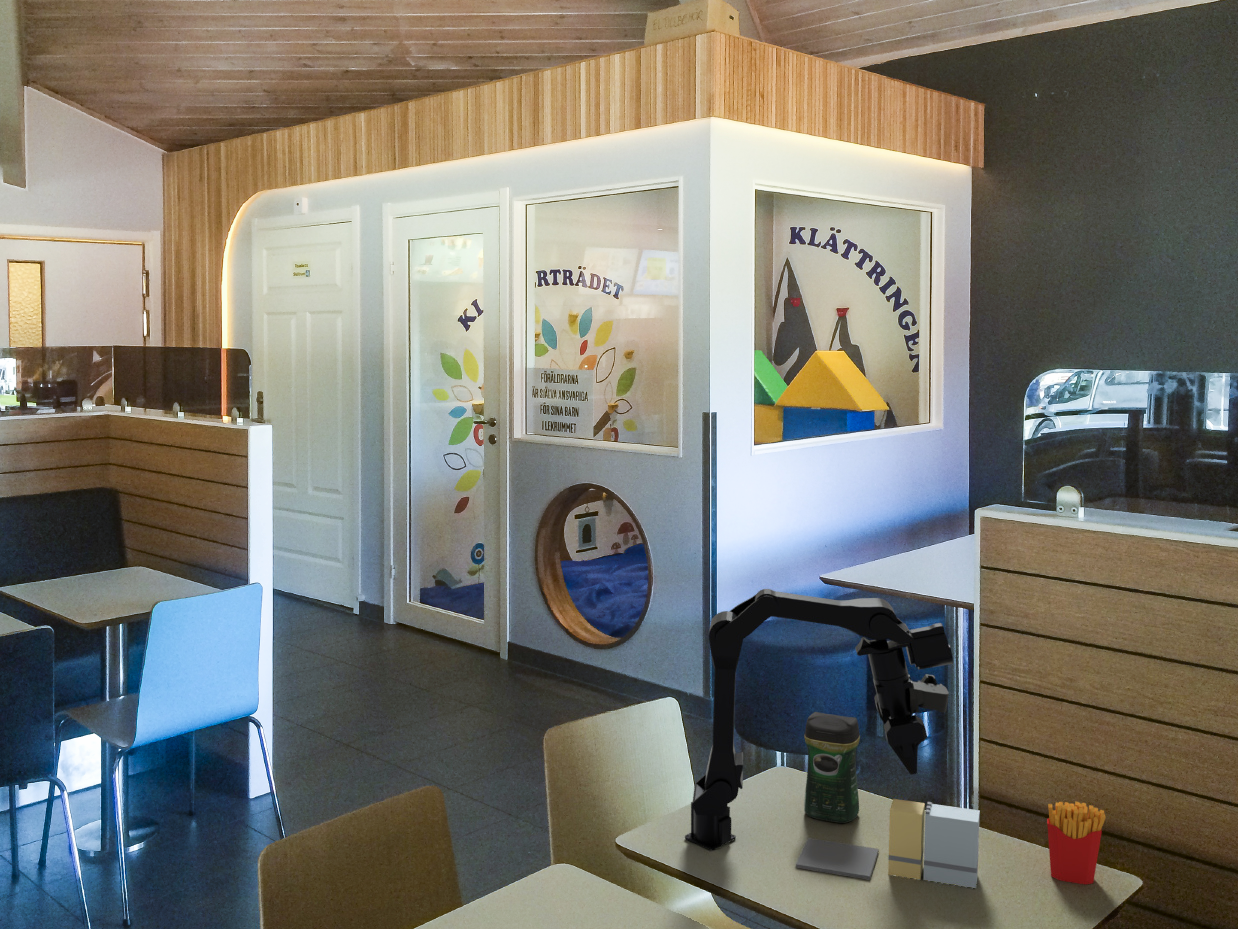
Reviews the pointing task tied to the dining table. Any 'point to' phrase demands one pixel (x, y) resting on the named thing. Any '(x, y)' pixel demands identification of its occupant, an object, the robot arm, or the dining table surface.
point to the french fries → (1074, 841)
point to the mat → (838, 858)
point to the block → (906, 838)
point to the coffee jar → (831, 767)
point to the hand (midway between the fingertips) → (909, 763)
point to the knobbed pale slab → (951, 845)
